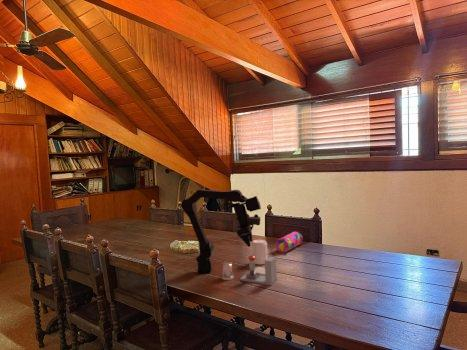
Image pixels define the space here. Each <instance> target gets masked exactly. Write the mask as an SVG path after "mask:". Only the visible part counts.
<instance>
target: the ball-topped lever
mask: <svg viewBox="0 0 467 350" xmlns="http://www.w3.org/2000/svg"><path fill="white" fill-rule="evenodd" d="M247 258H248V262H249V272H247V273H245V274H246V278H252V279H256V278H258V277H259V276H260V275H259V273H256V272H255V268H256V264H255V259H256V256H254V255H253V254H252V255H251V254H250V255H248V257H247Z"/></svg>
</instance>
